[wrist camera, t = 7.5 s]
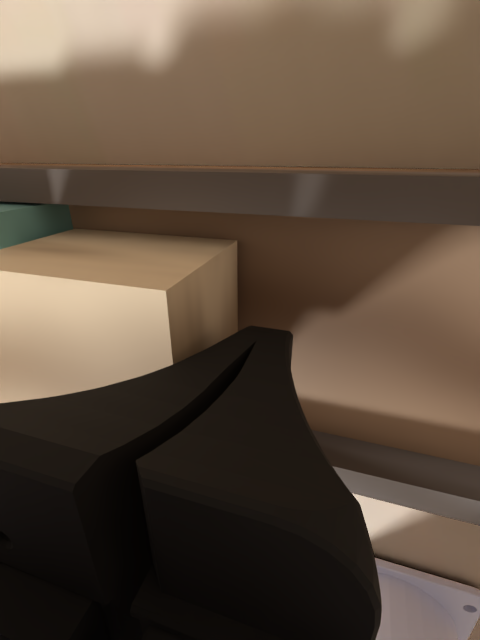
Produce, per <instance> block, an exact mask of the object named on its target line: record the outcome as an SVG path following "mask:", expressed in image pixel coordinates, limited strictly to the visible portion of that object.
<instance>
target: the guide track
mask: <svg viewBox="0 0 480 640" xmlns="http://www.w3.org/2000/svg"><path fill="white" fill-rule="evenodd" d="M72 229H89V230H103V231H116V232H130V233H144V234H157V235H171V236H184V237H198V238H212V239H225V240H237V289H238V331H240V330H242V329H244V328H246V327H248V326H250V325H252V326H258V327H265V328H272V329H279V330H286V331H290V332H291V333H292V334H293V345H292V359H291V373H292V378H293V382H294V386H295V389H296V393H297V396H298V399H299V402H300V405H301V407H302V410H303V413H304V415H305V417H306V420H307V422H308V424H309V426H310V428H311V430H312V432H313V434H314V436H315V437H316V439H317V441H318V443H319V445H320V447H321V449H322V451H323V452H324V454H325V455H326V457H327V459H328V460H329V462H330V463H331V465H332V467H333V468H334V470H335V471H336V473H337V474H338V475H339V477H340V478H341V480H342V481H343V482H344V484H345V485H346V487H347V488H348V489H349V491H350V492H351V493H354V494H358V495H362V496H366V497H369V498H373V499H377V500H381V501H385V502H389V503H393V504H397V505H401V506H405V507H409V508H412V509H416V510H420V511H424V512H428V513H432V514H436V515H440V516H444V517H448V518H452V519H456V520H459V521H463V522H467V523H471V524H475V525H479V526H480V169H405V168H328V167H252V166H175V165H99V164H22V163H0V249H3V248H7V247H10V246H14V245H18V244H21V243H25V242H28V241H32V240H36V239H39V238H43V237H47V236H50V235H54V234H57V233H61V232H65V231H68V230H72Z"/></svg>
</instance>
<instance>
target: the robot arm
mask: <svg viewBox="0 0 480 640" xmlns="http://www.w3.org/2000/svg"><path fill="white" fill-rule="evenodd" d="M292 345H293V334H292V333H291V332H290V331H286V330H279V329H272V328H265V327H258V326H252V325H250V326H248V327H246V328H244V329H242V330H240V331H238V332H236V333H235V334H233V335H231V336H229V337H227V338H226V339H224V340H222V341H220V342H218V343H216V344H214V345H213V346H211V347H209V348H207V349H205V350H203V351H201V352H199V353H197V354H194V355H192V356H190V357H188V358H186V359H184V360H182V361H180V362H177V363H175V364H173V365H170V366H168V367H165V368H163V369H160V370H157V371H154V372H151V373H149V374H146V375H143V376H140V377H136V378H133V379H129V380H126V381H122V382H118V383H115V384H111V385H108V386H104V387H100V388H95V389H90V390H86V391H81V392H76V393H70V394H65V395H59V396H53V397H47V398H39V399H31V400H23V401H15V402H7V403H0V640H468V638H469V636H470V634H471V632H472V631H473V629H474V627H475V625H476V623H477V621H478V619H479V617H480V590H479V589H477V588H475V587H472V586H468V585H465V584H462V583H458V582H455V581H452V580H448V579H445V578H442V577H438V576H435V575H432V574H428V573H425V572H422V571H418V570H415V569H411V568H408V567H405V566H401V565H398V564H395V563H391V562H388V561H385V560H381V559H378V558H375V557H374V553H373V549H372V545H371V541H370V538H369V534H368V530H367V527H366V523H365V520H364V517H363V513H362V510H361V507H360V504H359V502H358V501H357V500H356V498H355V497H354V496H353V495H352V493H351V492H350V491H349V489H348V488H347V487H346V485H345V484H344V482H343V481H342V480H341V478H340V477H339V475H338V474H337V473H336V471H335V470H334V468H333V467H332V465H331V463H330V462H329V460H328V459H327V457H326V455H325V454H324V452H323V451H322V449H321V447H320V445H319V443H318V441H317V439H316V437H315V436H314V434H313V432H312V430H311V428H310V426H309V424H308V422H307V420H306V417H305V415H304V413H303V410H302V407H301V405H300V402H299V399H298V396H297V393H296V389H295V386H294V382H293V378H292V373H291V359H292Z"/></svg>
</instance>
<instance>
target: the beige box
mask: <svg viewBox="0 0 480 640" xmlns="http://www.w3.org/2000/svg"><path fill="white" fill-rule="evenodd" d="M236 332H238V289H237V240H225V239H212V238H198V237H184V236H171V235H157V234H144V233H130V232H116V231H103V230H89V229H72V230H68V231H65V232H61V233H57V234H54V235H50V236H47V237H43V238H39V239H36V240H32V241H28V242H25V243H21V244H18V245H14V246H10V247H7V248H3V249H0V403H7V402H15V401H23V400H31V399H39V398H47V397H53V396H59V395H65V394H70V393H76V392H81V391H86V390H90V389H95V388H100V387H104V386H108V385H111V384H115V383H118V382H122V381H126V380H129V379H133V378H136V377H140V376H143V375H146V374H149V373H151V372H154V371H157V370H160V369H163V368H165V367H168V366H170V365H173V364H175V363H177V362H180V361H182V360H184V359H186V358H188V357H190V356H192V355H194V354H197V353H199V352H201V351H203V350H205V349H207V348H209V347H211V346H213V345H214V344H216V343H218V342H220V341H222V340H224V339H226V338H227V337H229V336H231V335H233V334H235V333H236Z"/></svg>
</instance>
